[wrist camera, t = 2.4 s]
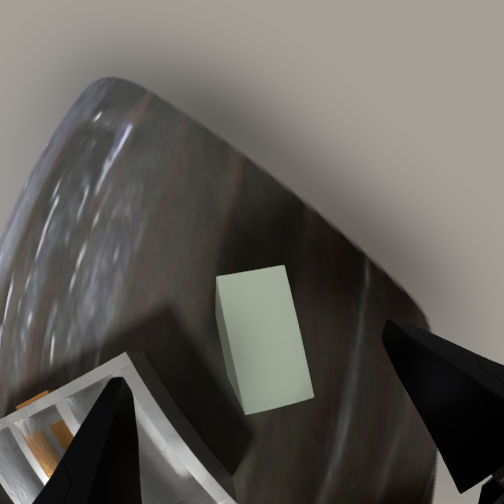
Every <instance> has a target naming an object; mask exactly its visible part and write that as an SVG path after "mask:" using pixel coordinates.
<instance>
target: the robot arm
mask: <svg viewBox="0 0 504 504" xmlns="http://www.w3.org/2000/svg"><path fill="white" fill-rule="evenodd" d="M382 343H383V345H384V347H385V349H386V351H387V354H388V356H389V358H390V360H391V362H392V365H393V367H394V369H395V371H396V373H397V375H398V377H399V379H400V381H401V382H402V384H403V386H404V387H405V389H406V391H407V393H408V394H409V396H410V398H411V400H412V401H413V403H414V405H415V407H416V409H417V410H418V412H419V414H420V416H421V418H422V420H423V421H424V423H425V425H426V427H427V429H428V431H429V433H430V434H431V436H432V438H433V440H434V442H435V444H436V446H437V448H438V450H439V452H440V454H441V456H442V458H443V460H444V462H445V464H446V466H447V468H448V470H449V472H450V474H451V476H452V478H453V480H454V482H455V485H456V487H457V489H458V491H459V493H460V494H462V493H463V492H465V491H467V490H468V489H470V488H472V487H473V486H475V485H476V484H478V483H479V482H481V481H482V480H484V479H485V478H487V477H488V476H490V475H491V474H492V477H491V478H490V479H489V480H488V481H487V482H486V483H485V484H484V485H483V486H482V489H481V494H480V498H479V502H478V504H504V365H502V364H499V363H497V362H494V361H492V360H489V359H487V358H485V357H482V356H480V355H478V354H474V352H471V351H469V350H467V349H465V348H463V347H461V346H458V345H456V344H454V343H452V342H450V341H448V340H445V339H443V338H441V337H439V336H437V335H435V334H432V333H430V332H428V331H426V330H424V329H422V328H419V327H417V326H415V325H413V324H411V323H409V322H406V321H404V320H402V319H400V318H397V317H395V318H392V319H389V320H387V321H386V323H385V326H384V330H383V333H382ZM62 458H63V459H61V460H60V462H59V463H58V465H57V467H56V469H55V470H54V472H53V474H52V475H51V477H50V479H49V480H48V482H47V483H46V484H45V486H44V487H43V489H42V490H41V492H40V493H39V494H38V496H37V497H36V499H35V500H34V501H33V503H32V504H142V495H141V483H140V466H139V440H138V430H137V423H136V415H135V406H134V397H133V393H132V391H131V389H130V387H129V385H128V384H127V382H126V380H125V379H124V378H123V377H112V378H110V380H109V381H108V383H107V384H106V386H105V387H104V389H103V391H102V392H101V394H100V395H99V397H98V398H97V400H96V402H95V403H94V405H93V406H92V408H91V410H90V411H89V413H88V415H87V416H86V418H85V419H84V421H83V423H82V424H81V426H80V428H79V429H78V431H77V433H76V434H75V436H74V438H73V439H72V441H71V443H70V445H69V446H68V448H67V450H66V451H65V453H64V455H63V457H62Z"/></svg>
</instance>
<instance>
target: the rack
mask: <svg viewBox="0 0 504 504" xmlns="http://www.w3.org/2000/svg"><path fill="white" fill-rule="evenodd" d="M112 377H123V378H124V379H125V380H126V382H127V384H128V385H129V387H130V389H131V391H132V393H133V397H134V406H135V415H136V423H137V430H138V440H139V466H140V483H141V495H142V504H237V500H236V494H235V489H234V483H233V477H232V476H231V475H230V474H229V472H228V471H227V470H226V469H225V468H224V467H223V465H222V464H221V463H220V462H219V460H218V459H217V458H216V457H215V456H214V454H213V453H212V452H211V451H210V449H209V448H208V447H207V445H206V444H205V443H204V442H203V440H202V439H201V438H200V436H199V435H198V434H197V432H196V431H195V430H194V428H193V427H192V426H191V424H190V423H189V421H188V420H187V419H186V417H185V416H184V414H183V413H182V411H181V410H180V409H179V407H178V406H177V404H176V403H175V401H174V400H173V398H172V397H171V395H170V394H169V392H168V391H167V389H166V387H165V386H164V384H163V383H162V381H161V380H160V378H159V376H158V375H157V373H156V371H155V370H154V368H153V367H152V365H151V363H150V361H149V360H148V358H147V356H146V355H145V353H144V351H130V352H124V353H122V354H121V355H119V356H117V357H115V358H113V359H112V360H110V361H108V362H106V363H104V364H103V365H101V366H99V367H97V368H95V369H94V370H92V371H90V372H88V373H86V374H85V375H83V376H81V377H79V378H77V379H75V380H74V381H72V382H70V383H68V384H66V385H64V386H63V387H60V388H55V389H50V390H46V391H44V392H43V393H41V394H39V395H37V396H35V397H33V398H31V399H30V400H28V401H26V402H24V403H22V404H20V405H18V406H17V407H16V408H17V411H15V412H13V413H12V414H10V415H8V416H6V417H4V418H2V419H0V483H1V485H2V486H3V488H4V489H5V491H6V492H7V494H8V495H9V496H10V498H11V499H12V501H13V502H14V503H15V504H32V503H33V501H34V500H35V499H36V497H37V496H38V494H39V493H40V492H41V490H42V489H43V487H44V486H45V484H46V483H47V482H48V480H49V479H50V477H51V475H52V474H53V472H54V470H55V469H56V467H57V465H58V463H59V462H60V460H61V459H63V458H62V457H63V455H64V453H65V451H66V450H67V448H68V446H69V445H70V443H71V441H72V439H73V438H74V436H75V434H76V433H77V431H78V429H79V428H80V426H81V424H82V423H83V421H84V419H85V418H86V416H87V415H88V413H89V411H90V410H91V408H92V406H93V405H94V403H95V402H96V400H97V398H98V397H99V395H100V394H101V392H102V391H103V389H104V387H105V386H106V384H107V383H108V381H109V380H110V378H112Z"/></svg>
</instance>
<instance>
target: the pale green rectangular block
mask: <svg viewBox="0 0 504 504" xmlns="http://www.w3.org/2000/svg"><path fill="white" fill-rule="evenodd" d="M215 316H216V321H217V326H218V331H219V336H220V341H221V346H222V351H223V356H224V360H225V365H226V370H227V374H228V378H229V380H230V383H231V385H232V387H233V389H234V392H235V394H236V396H237V398H238V400H239V402H240V405H241V407H242V409H243V411H244V413H245V415H248V414H252V413H257V412H261V411H265V410H270V409H274V408H278V407H282V406H285V405H289V404H293V403H296V402H300V401H303V400H307V399H310V398H313V397H314V394H313V390H312V385H311V380H310V375H309V371H308V366H307V361H306V357H305V352H304V348H303V343H302V339H301V334H300V330H299V325H298V321H297V317H296V312H295V308H294V304H293V299H292V295H291V291H290V287H289V282H288V278H287V274H286V270H285V266H284V265H281V266H275V267H270V268H264V269H258V270H253V271H247V272H241V273H235V274H229V275H223V276H217V277H216V305H215Z"/></svg>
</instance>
